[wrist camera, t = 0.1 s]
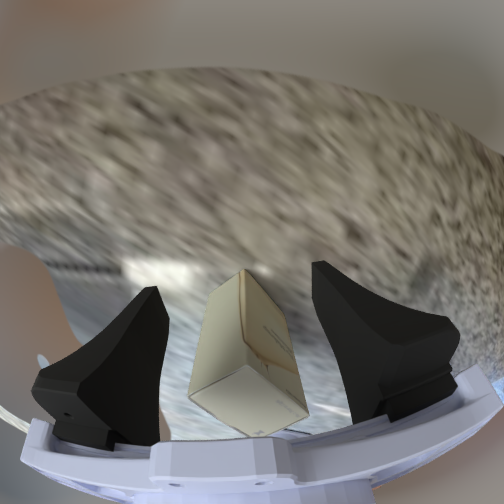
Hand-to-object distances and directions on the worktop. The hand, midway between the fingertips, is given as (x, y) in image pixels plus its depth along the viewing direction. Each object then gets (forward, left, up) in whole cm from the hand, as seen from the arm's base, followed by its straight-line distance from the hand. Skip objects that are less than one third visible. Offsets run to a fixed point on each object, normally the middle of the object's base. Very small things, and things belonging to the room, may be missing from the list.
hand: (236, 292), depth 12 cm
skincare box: (-5, -4, -11) cm, 13 cm away
